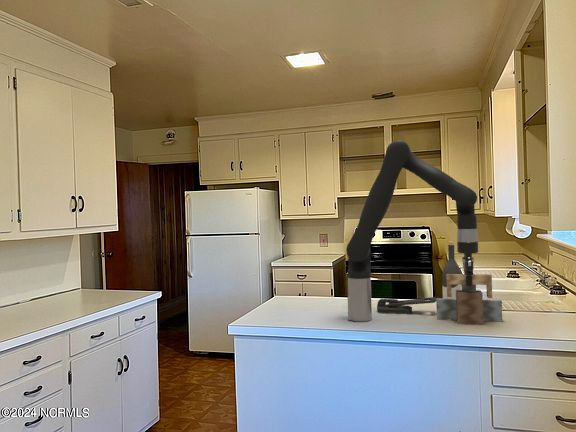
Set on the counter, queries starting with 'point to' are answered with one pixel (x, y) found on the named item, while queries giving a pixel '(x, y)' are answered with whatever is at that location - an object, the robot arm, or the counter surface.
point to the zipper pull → (400, 305)
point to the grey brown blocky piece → (469, 308)
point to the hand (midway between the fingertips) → (468, 284)
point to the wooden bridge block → (476, 280)
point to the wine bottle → (450, 268)
